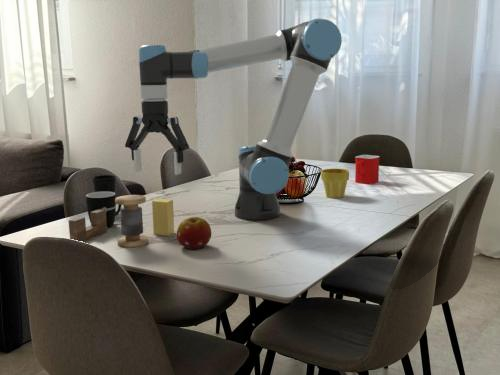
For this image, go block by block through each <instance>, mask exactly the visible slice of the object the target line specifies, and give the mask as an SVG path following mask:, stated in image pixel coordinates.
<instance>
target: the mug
mask: <svg viewBox="0 0 500 375" xmlns="http://www.w3.org/2000/svg"><path fill="white" fill-rule="evenodd" d="M117 197H118V196H116V192H115V193H114V192H95V191H93V192H90V193H87V194H86V195H85V200H86V203H85V204H86V209H87V214H88V218H89V222H90V224H91V216H90V212H92V211H95V210H98V209H105V210H106V222H107V229H108V228H111V227H113V226H114V225H115V221H116V217H117V216H118V215H119V214H120V209H121V208H122V205H118V204H116V203H115V198H117ZM117 206H118V207H117ZM116 208H117V209H116Z"/></svg>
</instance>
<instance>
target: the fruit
mask: <svg viewBox="0 0 500 375" xmlns="http://www.w3.org/2000/svg"><path fill="white" fill-rule="evenodd" d="M211 238H212V228H211V226H210V223H209V222H208V221H207V220H206V219H205V218H203V217H199V216H192V217H188V218H187V217H186V218H185V219H183V220H182V221H181V222H180V224H178V226H177V230H176V240H177V243H179V245H181V246H182V247H185V248H187V249H193V250H195V249H202V248H204V247H205V246H207V245H208V244H209V242H210V240H211Z"/></svg>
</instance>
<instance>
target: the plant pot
mask: <svg viewBox="0 0 500 375" xmlns="http://www.w3.org/2000/svg"><path fill="white" fill-rule="evenodd" d="M349 179H350V170H348V169H346V168H335V167H334V168H326V169H322V170H321V171H320V180H321V181H322V183H323V188H324V193H325V196H326V198H331V199H341V198H344V196H345V194H346V188H347V183H348V181H349Z"/></svg>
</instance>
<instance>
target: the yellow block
mask: <svg viewBox="0 0 500 375" xmlns="http://www.w3.org/2000/svg"><path fill="white" fill-rule="evenodd" d="M151 204H152V205H151V207H152V224H153V225H152V227H153V234H154V235H161V236H170V235H172V234H174V233H175V222H174V221H175V220H174V215H175V214H174V200H173V199H167V198H156V199H154V200H152V201H151Z"/></svg>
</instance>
